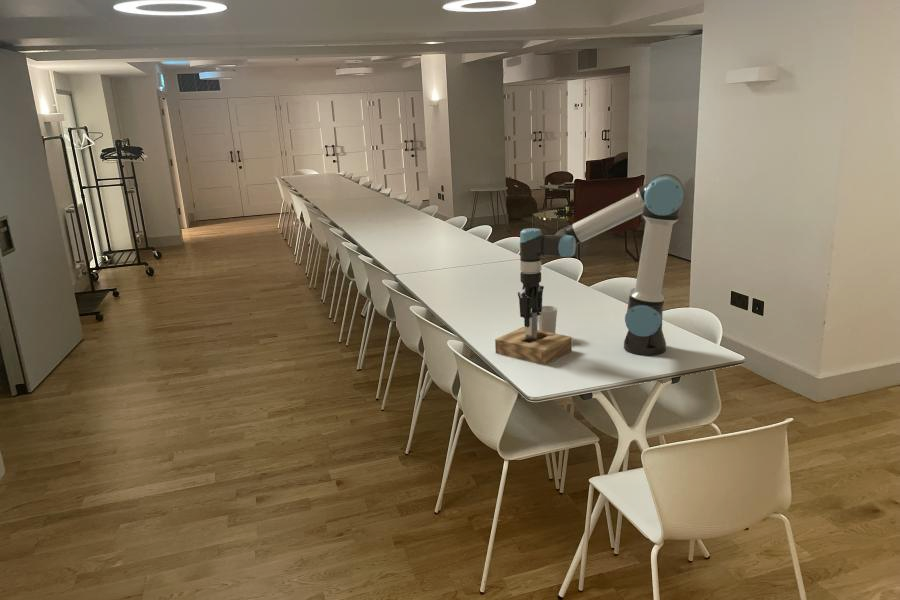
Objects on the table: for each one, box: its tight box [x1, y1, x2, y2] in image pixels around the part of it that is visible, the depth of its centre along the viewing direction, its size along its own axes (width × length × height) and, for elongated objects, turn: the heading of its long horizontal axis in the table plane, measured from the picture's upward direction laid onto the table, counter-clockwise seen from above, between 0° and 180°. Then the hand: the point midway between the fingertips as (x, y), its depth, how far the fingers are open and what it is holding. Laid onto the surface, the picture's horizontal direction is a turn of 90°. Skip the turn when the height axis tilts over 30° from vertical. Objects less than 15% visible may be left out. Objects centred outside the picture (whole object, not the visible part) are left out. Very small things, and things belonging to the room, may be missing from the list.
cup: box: [538, 305, 558, 333], centre depth 262 cm, size 8×8×12 cm
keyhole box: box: [494, 326, 573, 366], centre depth 247 cm, size 22×18×6 cm
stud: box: [526, 310, 537, 343], centre depth 245 cm, size 5×5×15 cm
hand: (531, 333), depth 245 cm, fingers closed on stud, 3 cm apart
